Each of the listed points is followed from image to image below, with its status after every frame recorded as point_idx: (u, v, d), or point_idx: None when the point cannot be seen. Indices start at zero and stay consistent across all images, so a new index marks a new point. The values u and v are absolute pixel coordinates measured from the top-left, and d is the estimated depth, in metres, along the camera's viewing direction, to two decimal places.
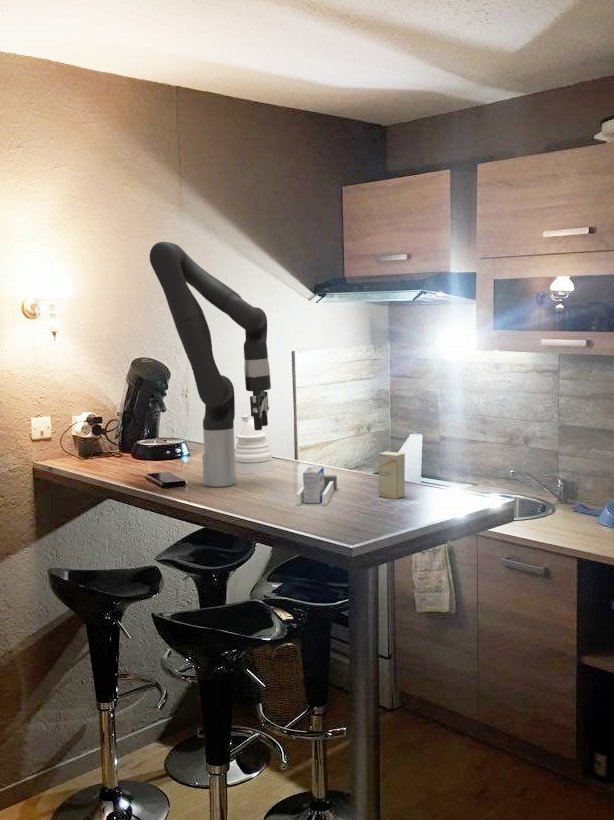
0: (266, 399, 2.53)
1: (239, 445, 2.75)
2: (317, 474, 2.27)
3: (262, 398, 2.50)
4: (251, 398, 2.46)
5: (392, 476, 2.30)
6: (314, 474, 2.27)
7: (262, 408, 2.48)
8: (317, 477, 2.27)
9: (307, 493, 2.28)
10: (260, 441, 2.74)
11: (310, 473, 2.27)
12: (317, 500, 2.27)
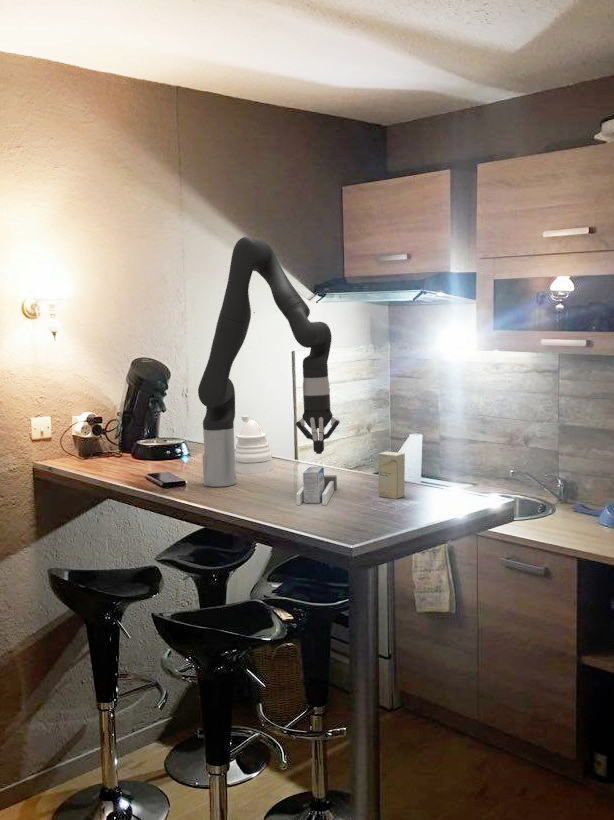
0: None
1: (239, 445, 2.75)
2: (317, 474, 2.27)
3: None
4: None
5: (392, 476, 2.30)
6: (314, 474, 2.27)
7: None
8: (317, 477, 2.27)
9: (307, 493, 2.28)
10: (260, 441, 2.74)
11: (310, 473, 2.27)
12: (317, 500, 2.27)
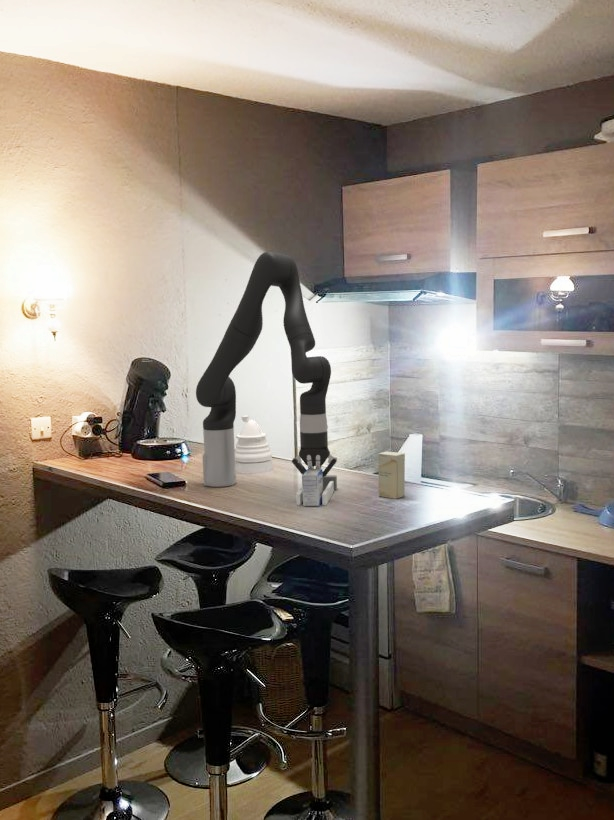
0: None
1: (239, 445, 2.75)
2: (316, 476, 2.23)
3: None
4: (335, 462, 2.30)
5: (392, 476, 2.30)
6: (313, 476, 2.23)
7: None
8: (316, 480, 2.23)
9: (306, 495, 2.24)
10: (260, 441, 2.74)
11: (309, 475, 2.23)
12: (317, 502, 2.24)
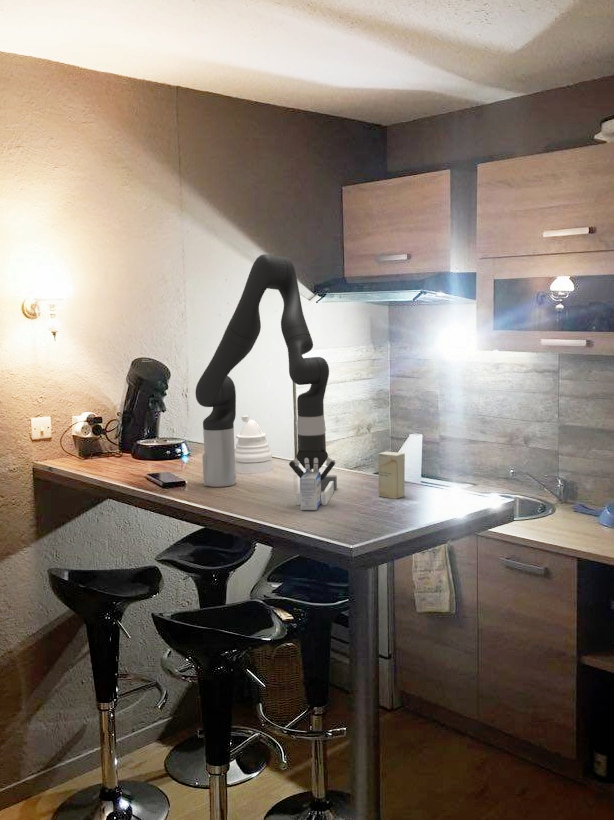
0: None
1: (239, 445, 2.75)
2: (314, 480, 2.18)
3: None
4: None
5: (392, 476, 2.30)
6: (311, 480, 2.18)
7: None
8: (314, 483, 2.18)
9: (303, 499, 2.19)
10: (260, 441, 2.74)
11: (307, 479, 2.18)
12: (315, 507, 2.19)
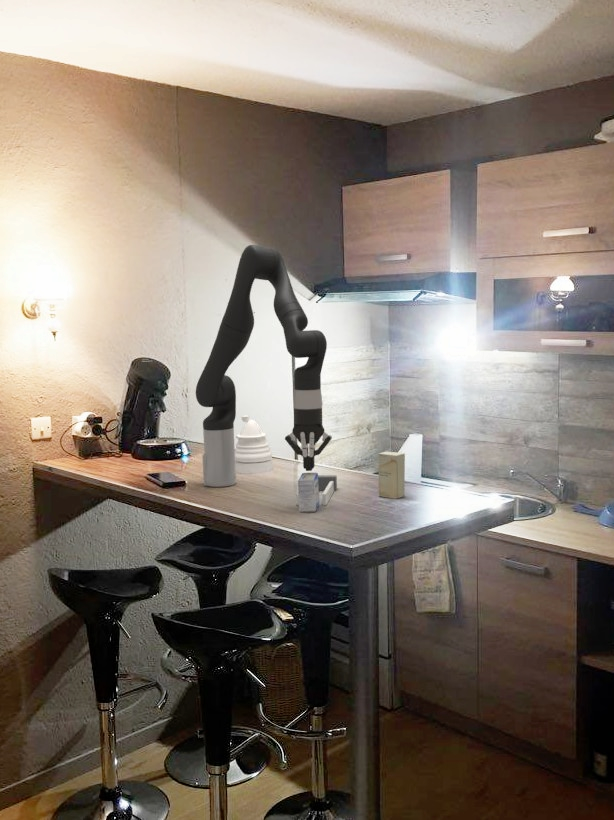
0: None
1: (239, 445, 2.75)
2: (313, 481, 2.17)
3: None
4: None
5: (392, 476, 2.30)
6: (310, 481, 2.17)
7: (315, 445, 2.26)
8: (313, 485, 2.17)
9: (302, 501, 2.18)
10: (260, 441, 2.74)
11: (305, 481, 2.17)
12: (313, 508, 2.18)
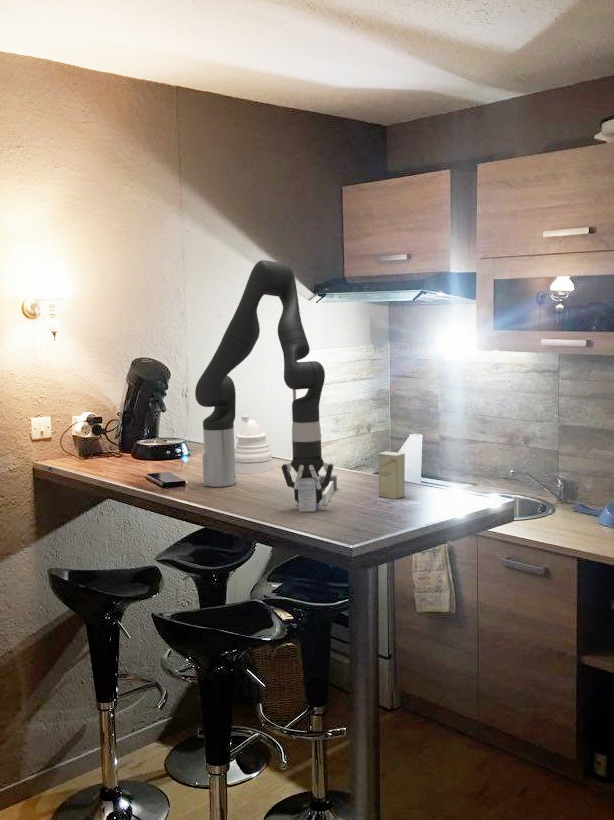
0: None
1: (239, 445, 2.75)
2: (313, 481, 2.17)
3: None
4: (332, 467, 2.18)
5: (392, 476, 2.30)
6: (310, 481, 2.17)
7: (319, 477, 2.21)
8: (313, 484, 2.17)
9: (302, 501, 2.18)
10: (260, 441, 2.74)
11: (305, 480, 2.17)
12: (313, 508, 2.18)
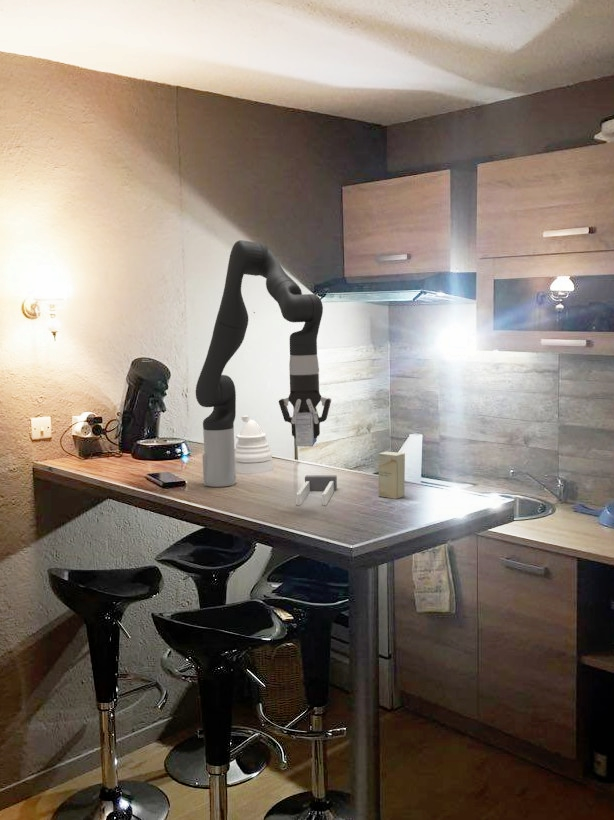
0: None
1: (239, 445, 2.75)
2: (310, 415, 2.15)
3: None
4: (329, 402, 2.16)
5: (392, 476, 2.30)
6: (307, 415, 2.15)
7: (317, 412, 2.19)
8: (310, 418, 2.15)
9: (299, 435, 2.16)
10: (260, 441, 2.74)
11: (303, 414, 2.15)
12: (310, 442, 2.16)
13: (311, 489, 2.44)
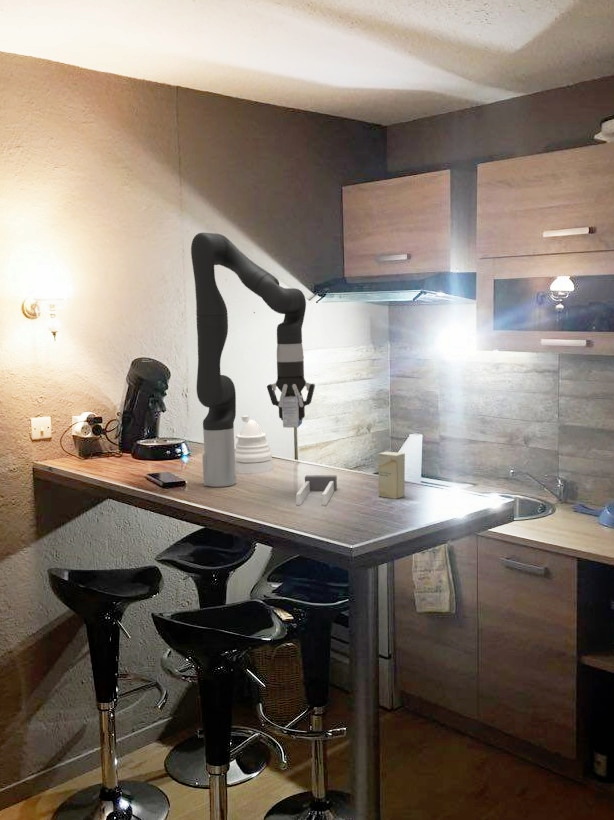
0: None
1: (239, 445, 2.75)
2: (296, 399, 2.35)
3: None
4: (313, 387, 2.36)
5: (392, 476, 2.30)
6: (293, 399, 2.35)
7: (302, 396, 2.39)
8: (295, 402, 2.35)
9: (285, 417, 2.36)
10: (260, 441, 2.74)
11: (289, 398, 2.35)
12: (296, 424, 2.36)
13: (311, 489, 2.44)
